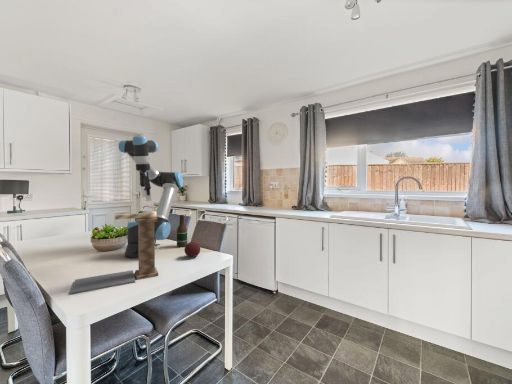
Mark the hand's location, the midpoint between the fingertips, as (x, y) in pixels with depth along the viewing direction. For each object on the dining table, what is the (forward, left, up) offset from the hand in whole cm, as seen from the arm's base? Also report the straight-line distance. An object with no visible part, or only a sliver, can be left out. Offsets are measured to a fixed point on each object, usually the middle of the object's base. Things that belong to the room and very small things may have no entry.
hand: (146, 198), depth 142 cm
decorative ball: (+17, +22, -39) cm, 47 cm away
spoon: (+14, -16, -9) cm, 23 cm away
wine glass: (-29, +29, -39) cm, 56 cm away
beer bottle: (-8, +37, -39) cm, 54 cm away
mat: (+7, -28, -39) cm, 49 cm away
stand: (+16, -12, -39) cm, 44 cm away
